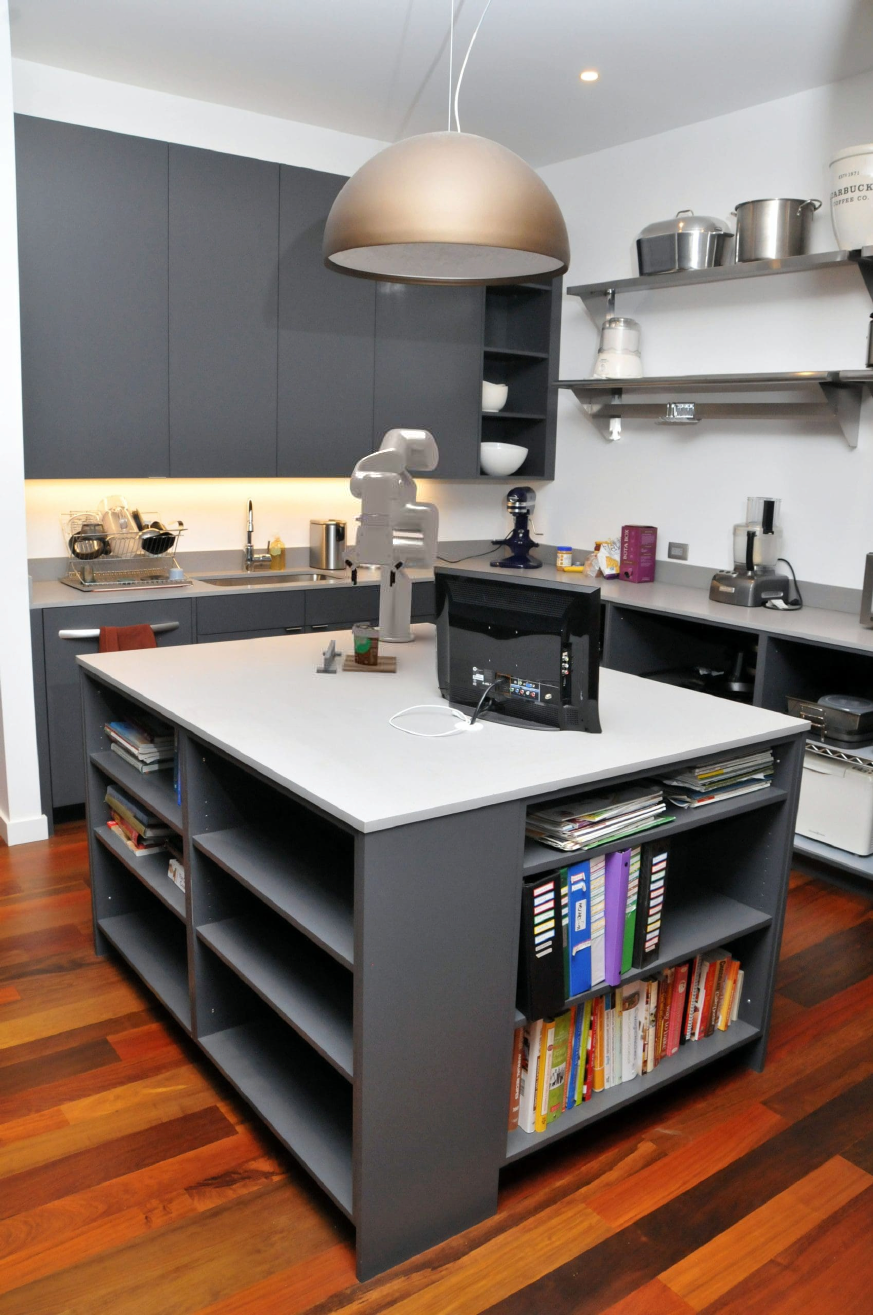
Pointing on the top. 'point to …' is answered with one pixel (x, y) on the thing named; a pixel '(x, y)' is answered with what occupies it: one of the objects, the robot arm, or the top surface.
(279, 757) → the top surface
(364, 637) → the food container
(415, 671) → the top surface
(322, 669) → the grey footed rail
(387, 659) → the walnut board
